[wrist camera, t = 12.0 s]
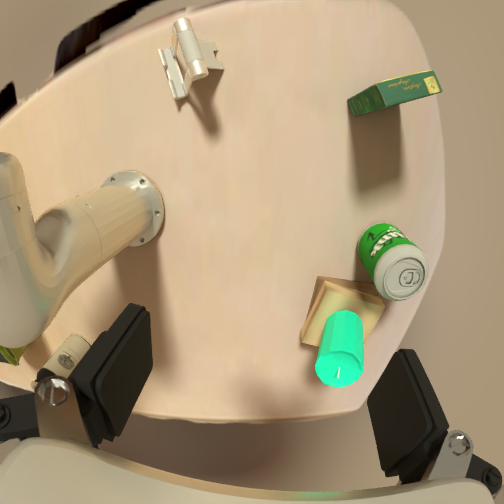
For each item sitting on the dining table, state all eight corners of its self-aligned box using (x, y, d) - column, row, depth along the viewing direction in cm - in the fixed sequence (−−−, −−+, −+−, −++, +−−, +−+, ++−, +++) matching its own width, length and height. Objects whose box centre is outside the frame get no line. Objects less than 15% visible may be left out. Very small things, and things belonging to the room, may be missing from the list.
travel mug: (86, 362, 61) (52, 410, 44) (65, 340, 59) (26, 385, 43) (99, 353, 58) (62, 405, 42) (76, 329, 57) (33, 377, 40)
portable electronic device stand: (163, 53, 34) (138, 39, 26) (211, 33, 32) (195, 12, 25) (178, 100, 37) (154, 93, 29) (228, 81, 35) (215, 67, 28)
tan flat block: (304, 324, 49) (304, 334, 46) (317, 274, 45) (319, 283, 43) (356, 330, 49) (360, 340, 46) (374, 282, 45) (379, 291, 42)
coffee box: (393, 85, 32) (435, 68, 20) (401, 103, 33) (445, 93, 21) (345, 98, 34) (372, 82, 22) (353, 117, 35) (384, 108, 23)
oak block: (300, 331, 46) (301, 342, 43) (324, 280, 42) (327, 290, 40) (353, 343, 46) (356, 355, 44) (380, 297, 42) (385, 307, 40)
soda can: (395, 266, 43) (423, 305, 32) (352, 264, 44) (371, 305, 32) (403, 221, 40) (438, 250, 29) (358, 218, 41) (383, 247, 30)
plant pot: (27, 329, 61) (10, 346, 53) (36, 353, 65) (21, 370, 57) (9, 320, 61) (-7, 335, 53) (18, 343, 65) (3, 359, 57)
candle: (354, 303, 39) (353, 349, 28) (368, 336, 40) (370, 387, 29) (318, 318, 42) (304, 365, 31) (333, 349, 42) (323, 400, 31)
